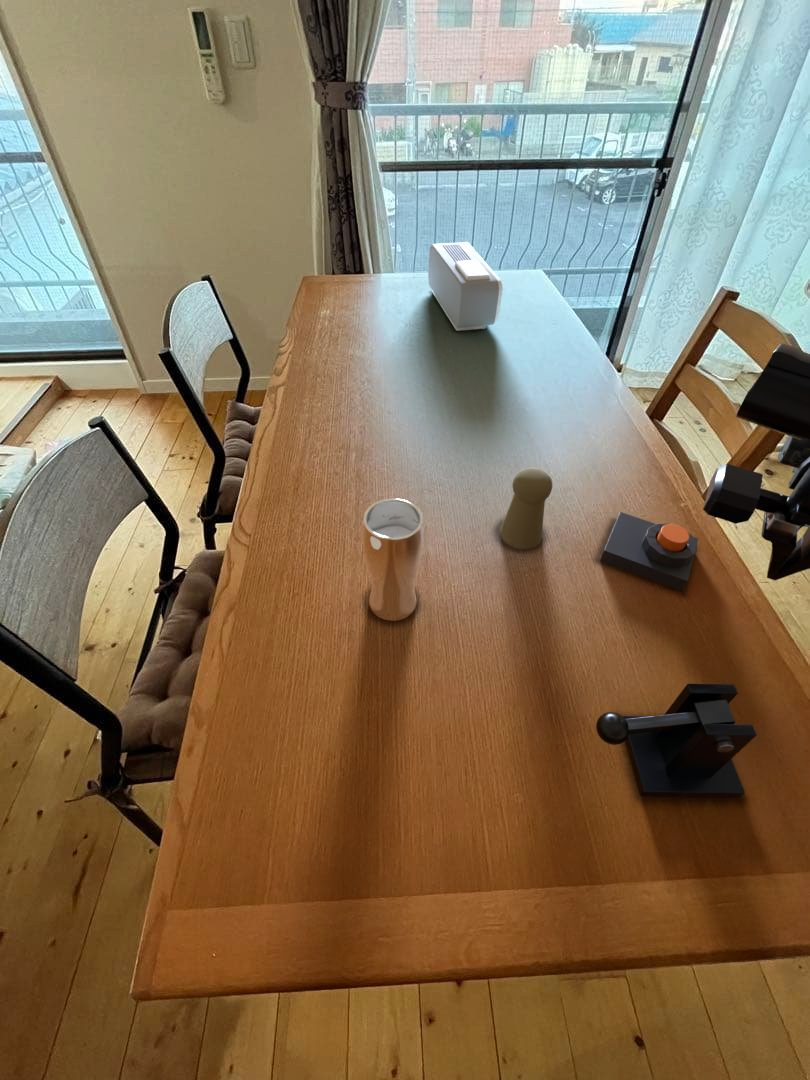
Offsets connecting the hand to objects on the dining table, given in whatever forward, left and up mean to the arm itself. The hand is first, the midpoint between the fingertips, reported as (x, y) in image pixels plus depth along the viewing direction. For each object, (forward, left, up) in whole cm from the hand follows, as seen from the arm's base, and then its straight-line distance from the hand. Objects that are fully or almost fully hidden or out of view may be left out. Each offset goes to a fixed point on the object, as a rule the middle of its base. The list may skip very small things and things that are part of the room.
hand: (770, 576), depth 58 cm
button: (+9, -11, -9) cm, 17 cm away
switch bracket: (+2, +17, -13) cm, 21 cm away
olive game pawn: (+28, -6, -13) cm, 32 cm away
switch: (+5, +19, -7) cm, 21 cm away
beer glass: (+38, +14, -13) cm, 43 cm away
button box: (+11, -11, -13) cm, 20 cm away
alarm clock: (+68, -71, -13) cm, 99 cm away
